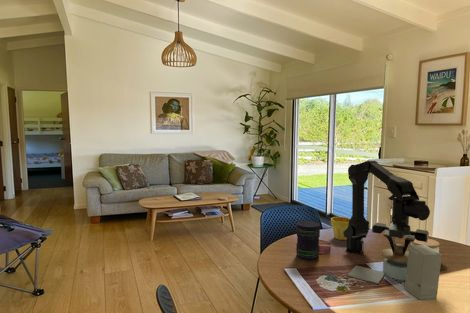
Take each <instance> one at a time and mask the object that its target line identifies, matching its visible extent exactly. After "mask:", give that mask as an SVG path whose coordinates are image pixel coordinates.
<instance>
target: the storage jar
mask: <svg viewBox="0 0 470 313" xmlns="http://www.w3.org/2000/svg"><path fill="white" fill-rule="evenodd" d="M320 226H321V223H319V222H318V221H315V220H308V219H307V220H304V219H303V220H298V221H297V222H296V236H297V237H296V239H297V240H296V242H297V243H296V248H295V249H296V250H295V251H296V256H295V257H296V258H297V259H299V260H300V261H304V262H316V261H317V262H318V261H319V259H320V236H321V235H320V233H321V232H320V231H321V230H320V229H321V228H320Z"/></svg>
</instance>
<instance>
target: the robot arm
mask: <svg viewBox="0 0 470 313" xmlns="http://www.w3.org/2000/svg"><path fill="white" fill-rule="evenodd" d="M347 169H348V170H347V175H348V179H349V181H350V183H351V185H352V188H351V189H352V190H351V193H352V194H351V195H352V196H351V197H352V199H351V202H352V203H351V205H352V207H351V209H352V210H351V211H352V212H351V217H350V220H349V223H348V228H347V229H346V230H345V231H344V232H343V233H344V237H346V238H347V239H346V249H345V252H348V253H349V252H350V253H354V254H361V253H362V252H363V251H364V250H365V242H364V241H363V240H364V239H366V238H367V236H368V233H369V231H370V221H369V220H367V219H366V217H365V184H366V182H367V181H368V179H369V174H372V175H373V176H375V178H378V180H379V181H381V182H383V184H385V185H386V188H387V191H389V192H390V194H391V196H389V197H388V200H390V201H392V210H391V212H392V214H391V221H390V223H389V226H387V224H386V223H381V222H376V223H375V224H374V225H373V226H372V228H371V232H372V233H374V234H382V233H383V232H384V233H383V237H385V238H386V239H387V240H388V242H389V245H390V247H391V248H390V249H392V251H393V253H394V244H396V242H395V241H396V239H395V238H398V239H403V238H404V237H405V239H404V244H403V245H404V249H403V255H405V252H406V251H408V249H409V245H410V244H411V241H412V242H414V240H415V239H416V240H418V241H423V242H427V240H428V239H430V238H429V236H430V234H429V233H430V232H429V231H428V230H427V229H426V230H425V229H419V228H416V230H414V231H413V230H411V226H410V225H409V223H410V222H409V221H410V218H413V219H415V220H419V221H426V220H428V218H429V216H430V214H431V210H430V207H429V206H428V205H427V204H426V203H427V202H426V200H420V197H419V195H418V193H417V191H416V189H415V187H414V184H413V182H412V181H411V180H408V179H406V178H404V177H399V176H397V175H395V174H393V173H392V172H390V171H389V170H388V169H386V167H384V166H383V165H381V164H380V163H378V161H376V160H366V161H363V162H360V163H357V164H351V165H349V167H348V168H347Z"/></svg>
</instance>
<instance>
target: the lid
mask: <svg viewBox="0 0 470 313" xmlns="http://www.w3.org/2000/svg"><path fill="white" fill-rule="evenodd" d="M403 249H404V244H401V243H395V244H394V253H393V251H392V248H384V249H382V250H381V253H380V254H381V256H382V257H383V258H384V259H385V258H386V259H388V260H391V261H394V262H399V263H407V262H408V254H409V250H406V252H405V255H403Z"/></svg>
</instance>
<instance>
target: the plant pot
mask: <svg viewBox="0 0 470 313" xmlns="http://www.w3.org/2000/svg"><path fill="white" fill-rule="evenodd" d="M350 219H351V217H350V218H349V217H346V216H333V217H331V218H330V226H331V227H332V231H333V237H334V239H336V240H340V241H344V240H345V241H347V238H346V237H344V233H343V232H344V231H345V230H346V229H347V228H348V223H349V220H350Z"/></svg>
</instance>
